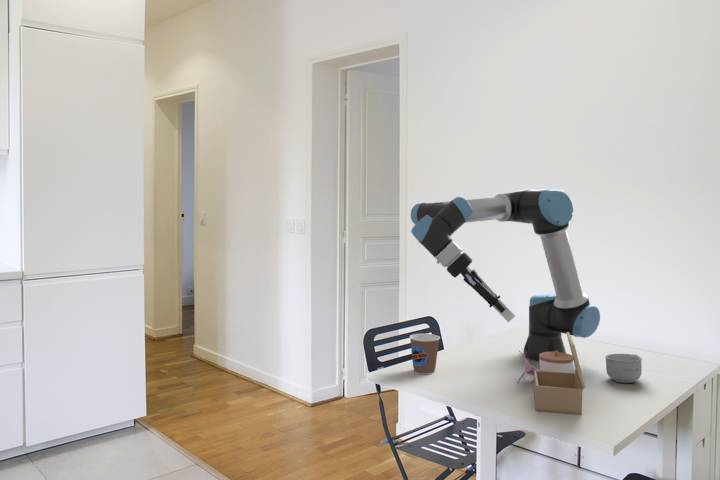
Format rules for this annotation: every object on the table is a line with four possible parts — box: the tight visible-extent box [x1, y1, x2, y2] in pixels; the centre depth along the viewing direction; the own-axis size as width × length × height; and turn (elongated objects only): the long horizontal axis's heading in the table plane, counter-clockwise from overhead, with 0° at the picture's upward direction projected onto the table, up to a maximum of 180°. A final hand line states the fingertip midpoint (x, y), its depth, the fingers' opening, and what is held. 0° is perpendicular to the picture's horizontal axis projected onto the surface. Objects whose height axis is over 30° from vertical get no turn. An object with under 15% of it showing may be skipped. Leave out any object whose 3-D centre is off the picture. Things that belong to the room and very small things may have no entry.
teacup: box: [605, 353, 643, 384], centre depth 199 cm, size 14×11×8 cm
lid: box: [566, 332, 586, 390], centre depth 175 cm, size 12×16×1 cm
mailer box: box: [533, 369, 584, 415], centre depth 176 cm, size 12×16×7 cm
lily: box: [517, 350, 539, 384], centre depth 196 cm, size 12×12×10 cm
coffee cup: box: [408, 333, 441, 375], centre depth 208 cm, size 10×10×12 cm
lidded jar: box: [538, 350, 574, 373], centre depth 200 cm, size 11×11×9 cm
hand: (511, 318), depth 178 cm, fingers closed
